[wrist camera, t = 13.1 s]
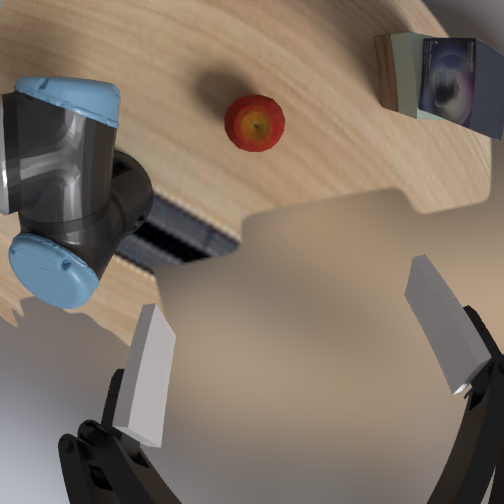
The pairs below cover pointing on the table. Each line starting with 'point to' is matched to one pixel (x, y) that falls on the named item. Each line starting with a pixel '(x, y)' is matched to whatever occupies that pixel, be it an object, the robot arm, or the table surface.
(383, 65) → the tower base
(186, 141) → the table surface
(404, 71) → the tower top
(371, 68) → the table surface
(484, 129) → the small box
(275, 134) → the apple
